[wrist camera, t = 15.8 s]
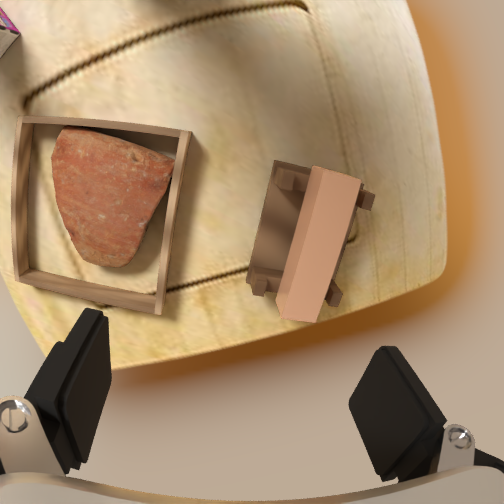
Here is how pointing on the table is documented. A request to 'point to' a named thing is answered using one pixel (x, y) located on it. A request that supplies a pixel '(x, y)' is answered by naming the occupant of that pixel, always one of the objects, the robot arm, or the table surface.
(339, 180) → the tan pink long block
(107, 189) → the ceramic shard
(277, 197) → the rack
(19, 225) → the low wooden frame
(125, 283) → the table surface
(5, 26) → the candy bar box
